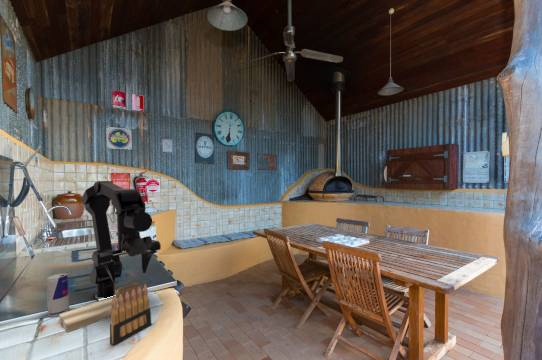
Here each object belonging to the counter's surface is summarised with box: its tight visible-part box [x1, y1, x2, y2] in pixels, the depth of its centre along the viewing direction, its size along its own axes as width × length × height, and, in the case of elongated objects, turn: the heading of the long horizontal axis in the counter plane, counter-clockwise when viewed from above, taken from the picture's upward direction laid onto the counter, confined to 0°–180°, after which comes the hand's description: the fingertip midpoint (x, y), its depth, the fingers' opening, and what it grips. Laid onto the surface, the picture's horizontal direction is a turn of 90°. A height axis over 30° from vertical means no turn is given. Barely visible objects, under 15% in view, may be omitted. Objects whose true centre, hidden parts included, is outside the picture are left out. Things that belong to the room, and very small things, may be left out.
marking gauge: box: [115, 282, 144, 307], centre depth 86 cm, size 13×6×8 cm, turn 49°
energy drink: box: [46, 272, 70, 318], centre depth 84 cm, size 5×5×12 cm
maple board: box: [58, 296, 118, 333], centre depth 84 cm, size 10×22×2 cm, turn 139°
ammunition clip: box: [109, 283, 152, 347], centre depth 71 cm, size 11×2×12 cm, turn 150°
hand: (129, 277), depth 84 cm, fingers open, 9 cm apart
